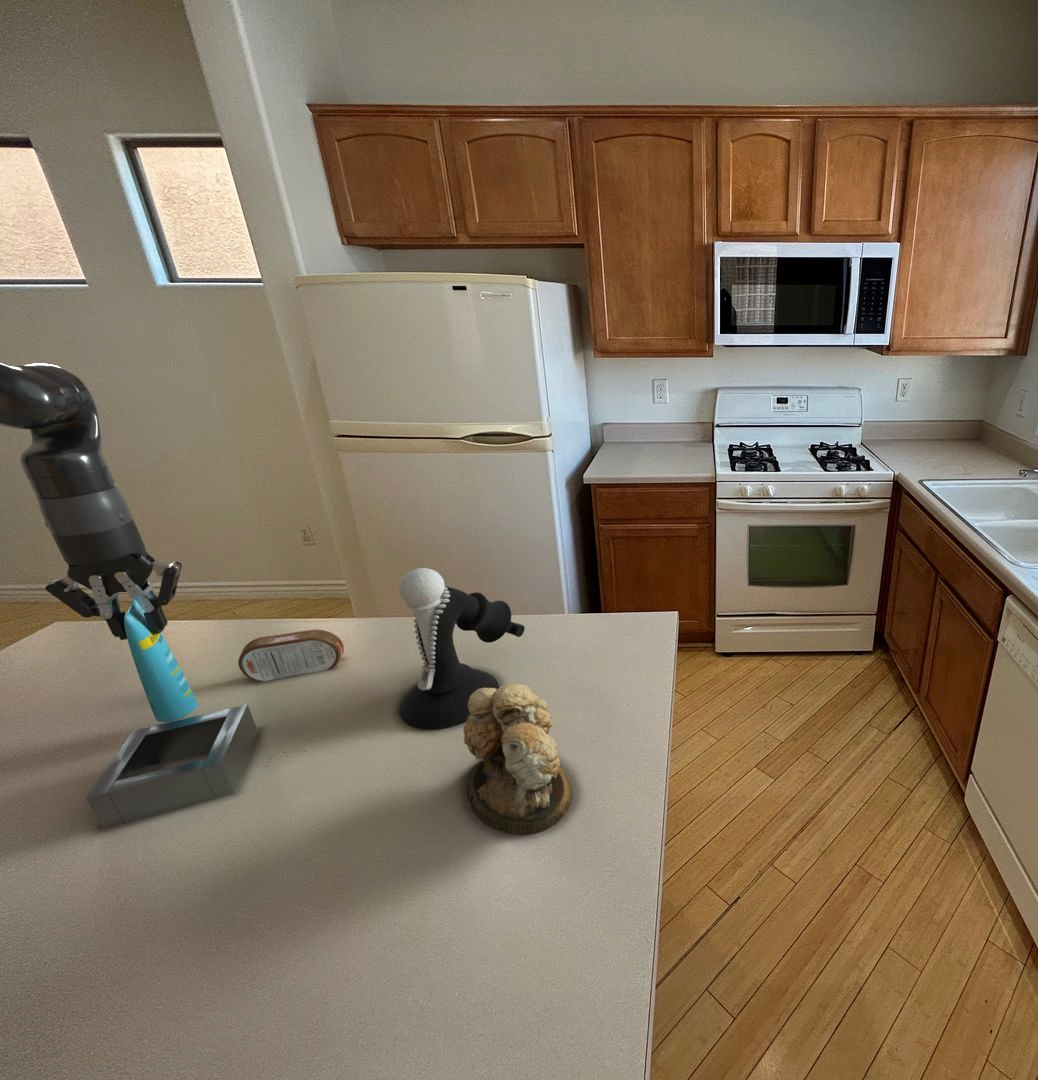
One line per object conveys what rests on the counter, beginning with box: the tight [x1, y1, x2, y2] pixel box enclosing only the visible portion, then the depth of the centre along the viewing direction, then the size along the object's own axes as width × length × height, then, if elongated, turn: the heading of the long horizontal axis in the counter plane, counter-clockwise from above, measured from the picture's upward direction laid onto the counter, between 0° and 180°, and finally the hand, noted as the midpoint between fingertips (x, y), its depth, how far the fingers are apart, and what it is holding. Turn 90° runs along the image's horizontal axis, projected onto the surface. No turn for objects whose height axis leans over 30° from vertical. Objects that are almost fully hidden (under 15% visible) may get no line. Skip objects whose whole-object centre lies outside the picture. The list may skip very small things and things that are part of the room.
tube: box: [124, 598, 199, 723], centre depth 81 cm, size 7×5×19 cm, turn 42°
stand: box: [85, 704, 259, 830], centre depth 76 cm, size 13×13×6 cm
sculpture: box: [398, 567, 526, 731], centre depth 92 cm, size 15×24×25 cm, turn 151°
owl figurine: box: [463, 683, 574, 835], centre depth 73 cm, size 18×12×17 cm, turn 55°
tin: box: [237, 629, 345, 683], centre depth 97 cm, size 15×3×8 cm, turn 111°
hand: (143, 633), depth 80 cm, fingers closed on tube, 3 cm apart
